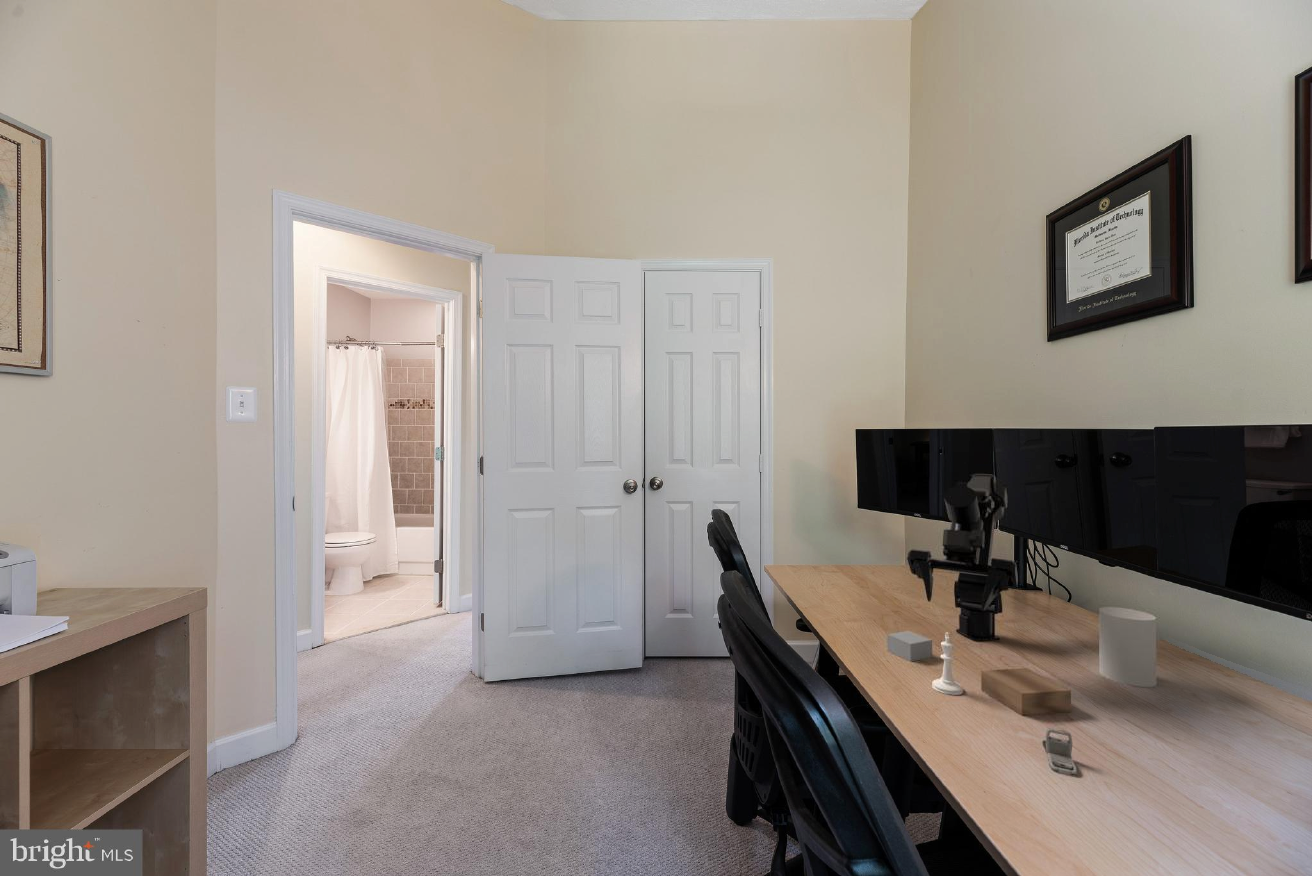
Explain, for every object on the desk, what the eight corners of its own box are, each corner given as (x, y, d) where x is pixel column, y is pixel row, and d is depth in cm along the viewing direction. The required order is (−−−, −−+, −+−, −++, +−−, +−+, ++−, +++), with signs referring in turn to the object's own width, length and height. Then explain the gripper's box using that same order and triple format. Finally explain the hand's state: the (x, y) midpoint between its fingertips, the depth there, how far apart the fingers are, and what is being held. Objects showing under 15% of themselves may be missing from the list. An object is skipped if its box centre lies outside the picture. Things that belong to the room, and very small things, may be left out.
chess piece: (960, 685, 100) (959, 630, 100) (965, 697, 95) (965, 639, 95) (930, 681, 101) (929, 626, 101) (934, 692, 97) (933, 635, 97)
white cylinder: (1146, 673, 105) (1145, 610, 105) (1164, 690, 98) (1163, 622, 98) (1093, 665, 109) (1093, 605, 109) (1107, 681, 101) (1106, 616, 101)
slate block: (908, 647, 118) (908, 630, 118) (932, 657, 113) (932, 639, 113) (887, 651, 116) (887, 634, 116) (910, 661, 110) (910, 644, 110)
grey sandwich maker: (1078, 780, 72) (1079, 747, 72) (1050, 773, 73) (1050, 741, 73) (1066, 748, 79) (1066, 719, 80) (1041, 742, 81) (1041, 714, 81)
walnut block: (1026, 687, 99) (1026, 668, 99) (1071, 711, 90) (1071, 690, 90) (981, 690, 97) (981, 670, 97) (1021, 715, 88) (1021, 693, 89)
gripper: (909, 510, 114) (894, 573, 106) (1015, 517, 103) (1009, 588, 94) (918, 542, 120) (905, 604, 112) (1020, 553, 109) (1014, 623, 100)
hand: (955, 604), depth 104 cm, fingers open, 9 cm apart
